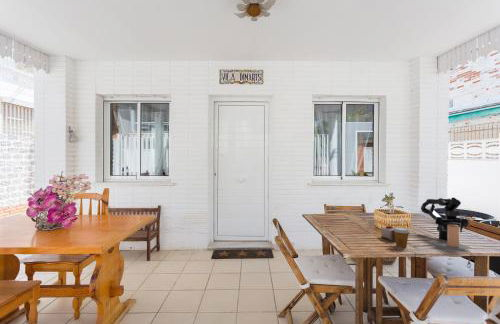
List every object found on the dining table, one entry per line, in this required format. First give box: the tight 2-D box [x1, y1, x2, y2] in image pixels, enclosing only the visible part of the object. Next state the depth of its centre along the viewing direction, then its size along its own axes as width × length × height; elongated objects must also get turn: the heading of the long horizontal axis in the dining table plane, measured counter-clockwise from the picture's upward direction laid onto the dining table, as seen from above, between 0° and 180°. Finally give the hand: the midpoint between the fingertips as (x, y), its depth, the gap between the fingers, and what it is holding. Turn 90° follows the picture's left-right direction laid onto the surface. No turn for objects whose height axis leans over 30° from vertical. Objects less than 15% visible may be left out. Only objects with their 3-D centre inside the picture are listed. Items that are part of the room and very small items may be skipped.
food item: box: [380, 225, 396, 242], centre depth 219 cm, size 14×8×10 cm, turn 13°
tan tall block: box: [446, 223, 460, 247], centre depth 200 cm, size 6×6×14 cm
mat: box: [424, 240, 472, 250], centre depth 202 cm, size 22×17×1 cm
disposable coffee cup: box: [393, 226, 410, 248], centre depth 201 cm, size 10×10×12 cm
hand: (453, 231), depth 200 cm, fingers open, 9 cm apart
